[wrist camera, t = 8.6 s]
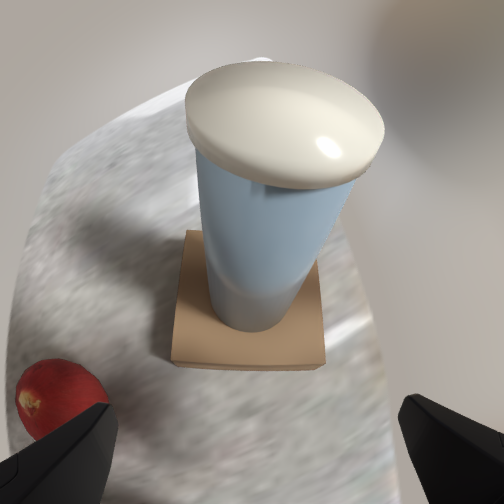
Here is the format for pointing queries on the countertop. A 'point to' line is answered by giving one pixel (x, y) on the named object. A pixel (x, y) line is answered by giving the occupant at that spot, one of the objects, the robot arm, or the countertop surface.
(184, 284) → the block
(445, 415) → the robot arm
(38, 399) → the onion
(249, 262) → the tumbler
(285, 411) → the countertop surface
